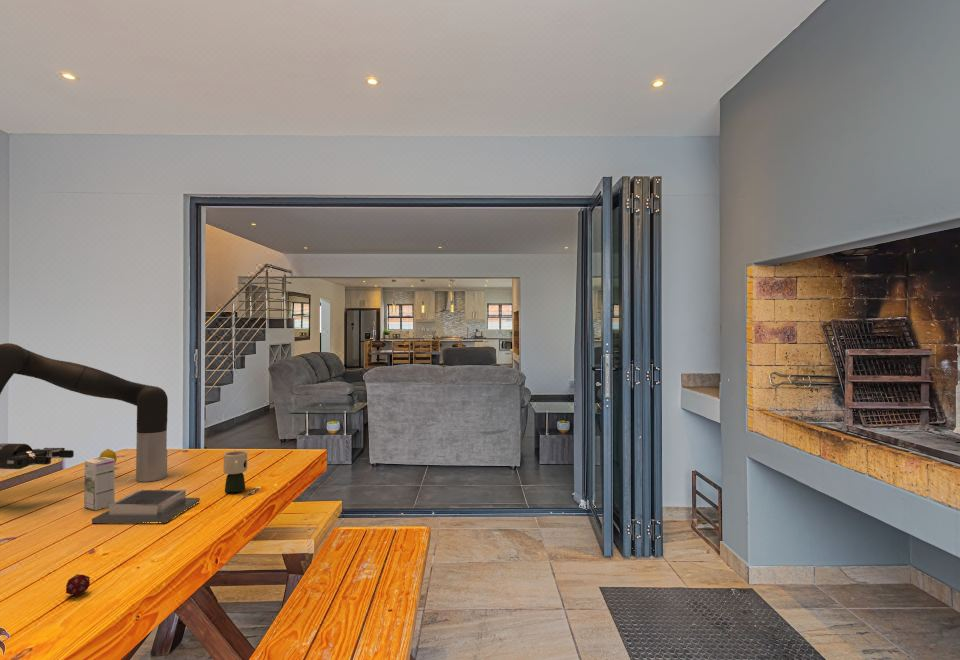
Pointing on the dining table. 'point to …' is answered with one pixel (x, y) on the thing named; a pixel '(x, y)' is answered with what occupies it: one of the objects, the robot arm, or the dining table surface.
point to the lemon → (108, 454)
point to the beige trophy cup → (235, 470)
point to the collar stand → (147, 507)
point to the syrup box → (99, 483)
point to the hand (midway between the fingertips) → (61, 457)
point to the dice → (77, 584)
